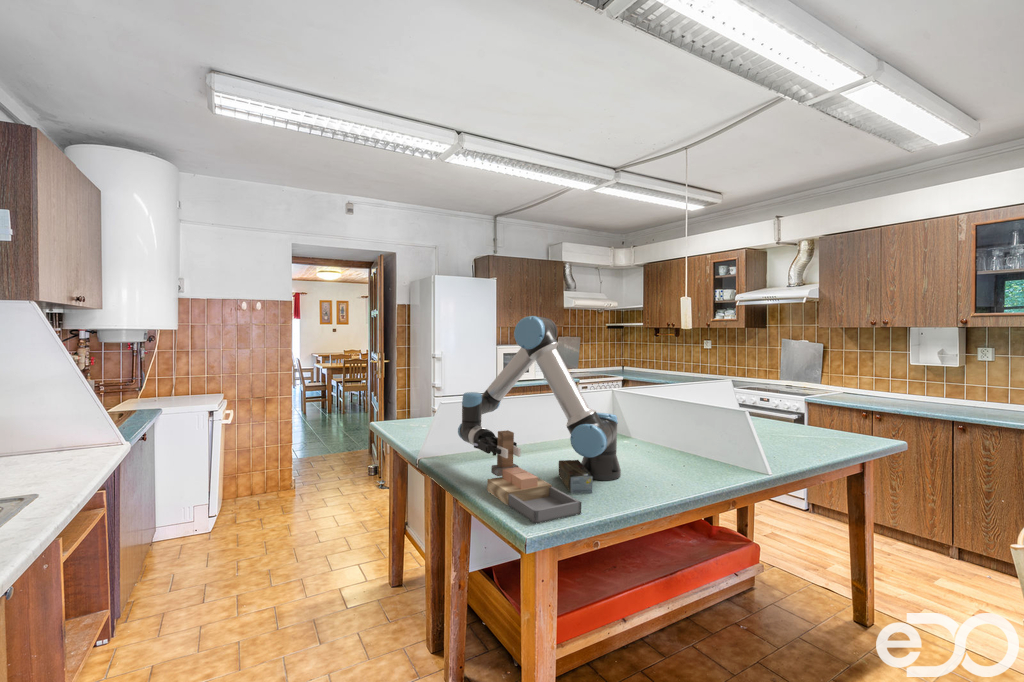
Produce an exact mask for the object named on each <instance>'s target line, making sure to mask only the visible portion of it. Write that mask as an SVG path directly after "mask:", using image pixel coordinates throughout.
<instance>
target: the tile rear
mask: <svg viewBox="0 0 1024 682" xmlns="http://www.w3.org/2000/svg"><path fill="white" fill-rule="evenodd" d="M524 472H528V471H527V470H525V469H523V468H521V467H520V466H518V467H513V468H506V469H502V476H501V477H502V478H503V479H505V480H507V481H508V482H510V483H512V474H517V473H524Z"/></svg>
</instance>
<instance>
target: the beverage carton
mask: <svg viewBox="0 0 1024 682" xmlns="http://www.w3.org/2000/svg"><path fill="white" fill-rule="evenodd" d="M581 462H582V461H580V460H579V459H567V460H563V459H560V460H558V477H559V478H560V480H561V482H562V483H563V484H564V486H565V487H566V489H567V490H568V492H569V493H570V494H571V493H575V494H593V479H592V476H591V474H590V473H589V472H588V471H587V469H586V468H585V467H584V466H583V465H582V463H581Z"/></svg>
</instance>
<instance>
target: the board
mask: <svg viewBox="0 0 1024 682" xmlns="http://www.w3.org/2000/svg"><path fill="white" fill-rule="evenodd" d="M486 481H487V482H486V483H487V484H486V487H487V488H486V491H488V492H487V493H489V492H490V493H491V495H492V496H493V495H494V497H495V498H496V497H497V499H498V500H499V501H501V502H502V503H504V505H506V506H508V502H509V494H513V495H514V496H516V497H517V498H519V499H520V500H522V501H528V500H533V499H539V498H544V497H549V494H550V487H553V486H552V484H551V483H549V482H547V481H545V480H544V479H541V478H540V477H538V486H537V487H531V488H526V489H520V488H518V487H517V486H515V485H513V484H512V483H510V482H508V481H507V480H505V479H503V478H502V476H498V477H495V478H487V480H486ZM490 493H489V494H490Z"/></svg>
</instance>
